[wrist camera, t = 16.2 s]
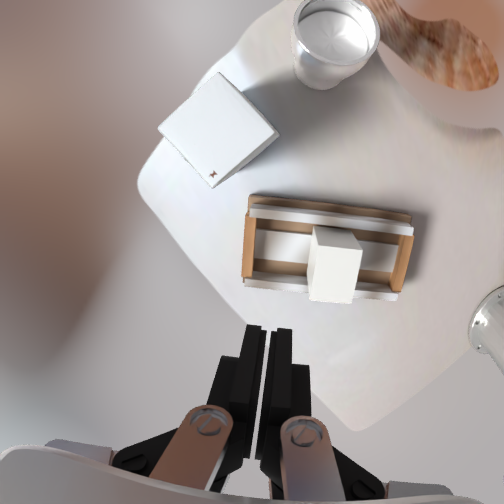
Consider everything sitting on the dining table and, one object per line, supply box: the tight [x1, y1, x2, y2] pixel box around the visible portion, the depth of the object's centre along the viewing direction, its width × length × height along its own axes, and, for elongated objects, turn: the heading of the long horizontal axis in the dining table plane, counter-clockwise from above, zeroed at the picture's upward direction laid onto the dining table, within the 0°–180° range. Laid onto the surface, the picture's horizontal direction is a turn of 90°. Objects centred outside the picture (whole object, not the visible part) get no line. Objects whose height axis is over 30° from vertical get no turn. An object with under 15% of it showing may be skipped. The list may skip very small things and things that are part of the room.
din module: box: [307, 226, 363, 304], centre depth 35 cm, size 4×6×7 cm
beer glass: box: [290, 0, 380, 90], centre depth 26 cm, size 7×7×15 cm
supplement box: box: [158, 72, 280, 189], centre depth 31 cm, size 7×7×13 cm
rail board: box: [241, 195, 415, 301], centre depth 38 cm, size 20×11×4 cm, turn 86°
